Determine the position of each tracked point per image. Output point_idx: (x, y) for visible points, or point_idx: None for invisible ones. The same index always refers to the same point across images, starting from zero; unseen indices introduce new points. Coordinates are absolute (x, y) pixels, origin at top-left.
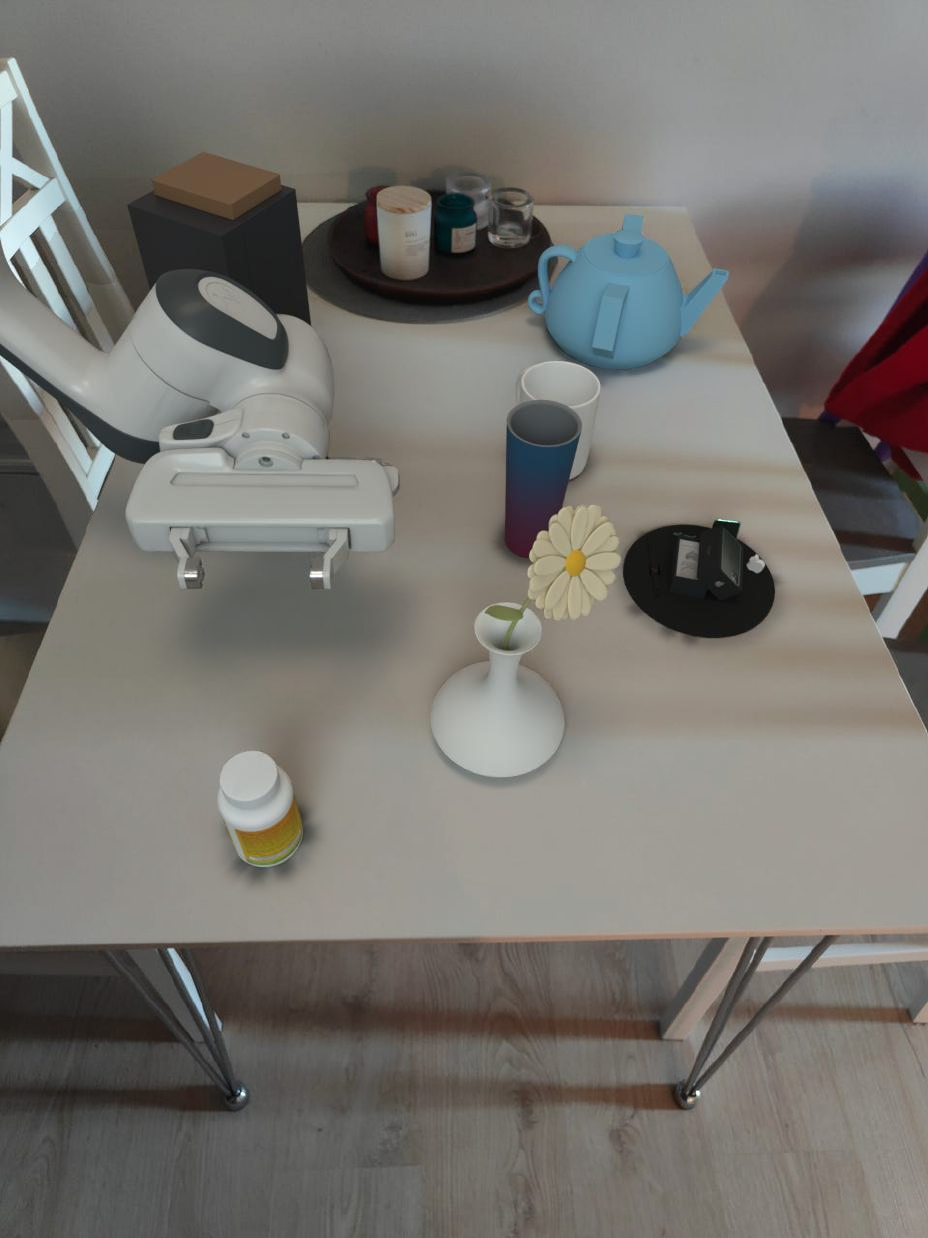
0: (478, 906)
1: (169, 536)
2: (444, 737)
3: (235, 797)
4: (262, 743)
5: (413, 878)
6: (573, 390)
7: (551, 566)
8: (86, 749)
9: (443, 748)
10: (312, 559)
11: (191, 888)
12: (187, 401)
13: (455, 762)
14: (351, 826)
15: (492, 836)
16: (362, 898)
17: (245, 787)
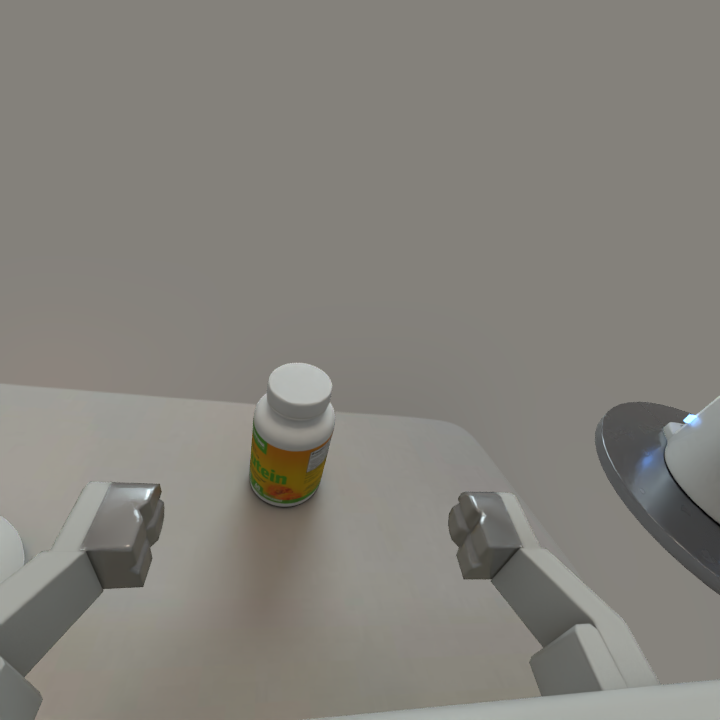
0: (86, 405)
1: (632, 635)
2: (6, 552)
3: (311, 365)
4: (302, 597)
5: (142, 431)
6: None
7: None
8: None
9: (19, 548)
10: (129, 540)
11: (348, 440)
12: None
13: (13, 527)
14: (195, 482)
15: (25, 461)
16: (198, 421)
17: (302, 371)
